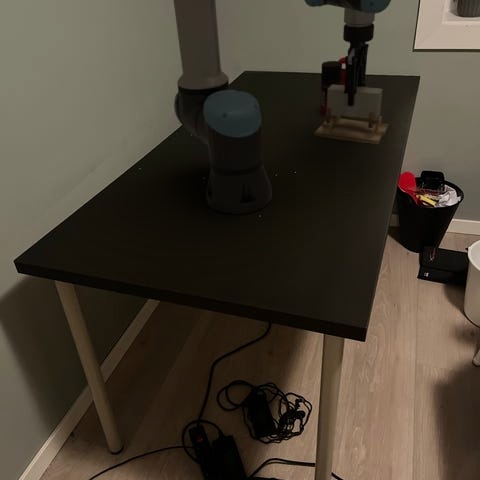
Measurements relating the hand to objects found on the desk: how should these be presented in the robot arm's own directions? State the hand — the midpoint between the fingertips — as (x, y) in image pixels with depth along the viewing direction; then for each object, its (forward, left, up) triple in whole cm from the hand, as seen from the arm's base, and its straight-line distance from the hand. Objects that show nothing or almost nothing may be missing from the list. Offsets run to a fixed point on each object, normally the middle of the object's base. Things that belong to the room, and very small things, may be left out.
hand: (353, 112), depth 134 cm
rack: (0, 0, -6) cm, 6 cm away
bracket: (+34, +14, -6) cm, 37 cm away
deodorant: (+12, +11, -6) cm, 17 cm away
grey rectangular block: (0, 0, 0) cm, 0 cm away
